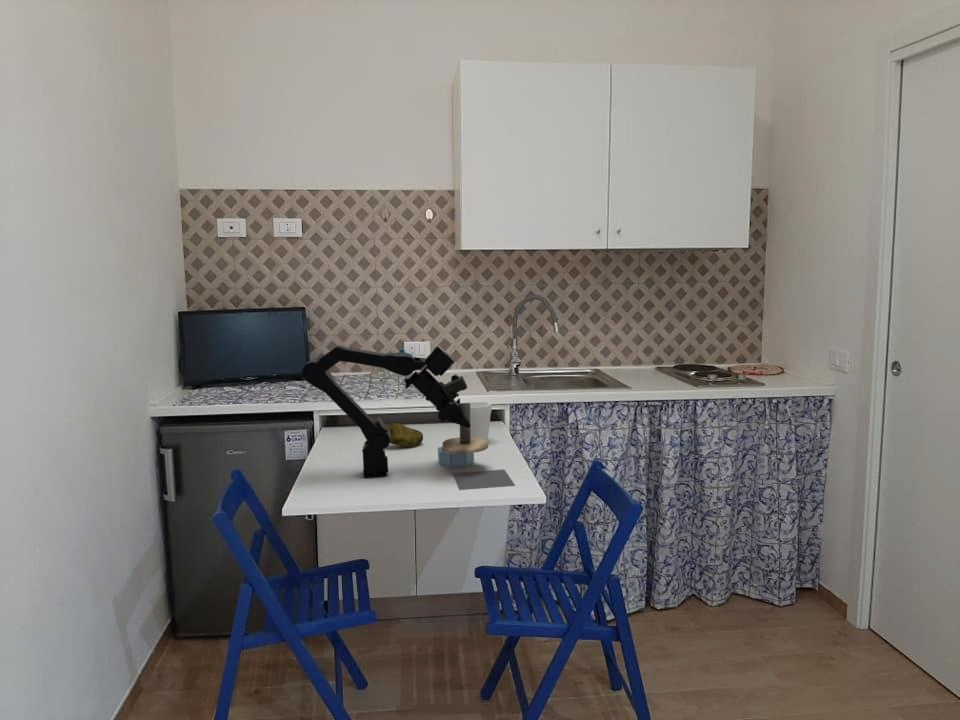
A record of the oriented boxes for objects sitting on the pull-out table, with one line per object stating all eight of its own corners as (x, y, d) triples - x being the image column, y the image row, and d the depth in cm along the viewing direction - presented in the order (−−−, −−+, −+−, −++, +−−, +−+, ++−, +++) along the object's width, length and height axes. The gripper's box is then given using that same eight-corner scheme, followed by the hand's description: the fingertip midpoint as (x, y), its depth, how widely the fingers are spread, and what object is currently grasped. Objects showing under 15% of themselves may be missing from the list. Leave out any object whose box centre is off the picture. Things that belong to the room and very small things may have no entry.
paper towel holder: (444, 454, 202) (443, 409, 201) (440, 442, 215) (440, 400, 213) (491, 452, 204) (490, 407, 202) (484, 440, 217) (484, 398, 215)
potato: (424, 448, 235) (423, 424, 234) (384, 451, 233) (383, 426, 232) (423, 442, 243) (422, 418, 242) (383, 444, 242) (382, 420, 240)
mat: (459, 490, 193) (459, 489, 193) (452, 474, 207) (452, 473, 207) (515, 486, 195) (515, 485, 195) (504, 470, 210) (504, 469, 210)
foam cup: (467, 448, 234) (466, 408, 233) (460, 441, 243) (459, 402, 241) (495, 445, 237) (494, 406, 235) (487, 438, 246) (486, 400, 244)
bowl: (440, 469, 212) (440, 454, 212) (437, 459, 222) (436, 445, 222) (475, 466, 214) (475, 451, 213) (470, 457, 224) (470, 443, 223)
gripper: (449, 372, 197) (491, 412, 199) (450, 362, 215) (488, 398, 217) (420, 402, 198) (462, 441, 200) (424, 389, 216) (462, 425, 218)
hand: (469, 425), depth 209 cm, fingers closed on paper towel holder, 3 cm apart
